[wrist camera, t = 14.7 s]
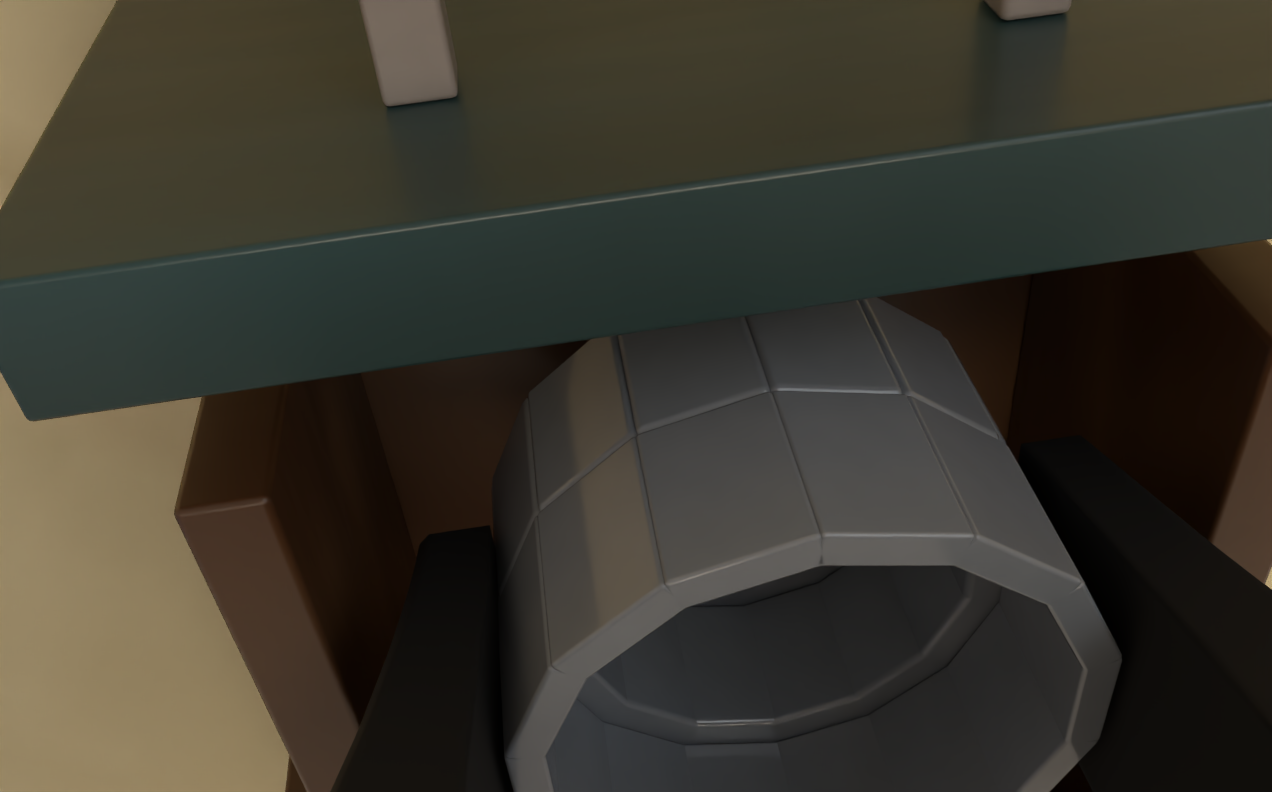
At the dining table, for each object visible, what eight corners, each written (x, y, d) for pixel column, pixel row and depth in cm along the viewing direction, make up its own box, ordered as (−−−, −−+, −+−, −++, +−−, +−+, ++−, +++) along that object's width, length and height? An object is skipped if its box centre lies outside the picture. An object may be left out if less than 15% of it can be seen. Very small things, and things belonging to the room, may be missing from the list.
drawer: (-113, -671, 9) (-633, -765, 5) (1305, -820, 9) (2048, -1033, 5) (401, 734, 21) (392, 1083, 16) (1021, 634, 21) (1173, 946, 17)
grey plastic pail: (532, 647, 15) (554, 946, 12) (452, 292, 11) (457, 592, 8) (945, 581, 15) (1067, 860, 12) (991, 215, 12) (1176, 480, 9)
